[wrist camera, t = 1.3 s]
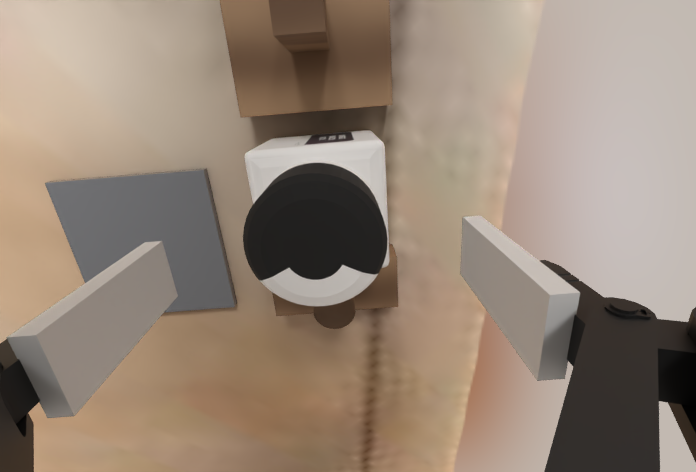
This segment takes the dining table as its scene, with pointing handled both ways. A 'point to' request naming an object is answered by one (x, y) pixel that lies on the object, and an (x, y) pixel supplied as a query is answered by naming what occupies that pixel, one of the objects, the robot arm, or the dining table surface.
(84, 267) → the plate
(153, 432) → the dining table surface
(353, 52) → the pair of wooden stands
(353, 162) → the container
